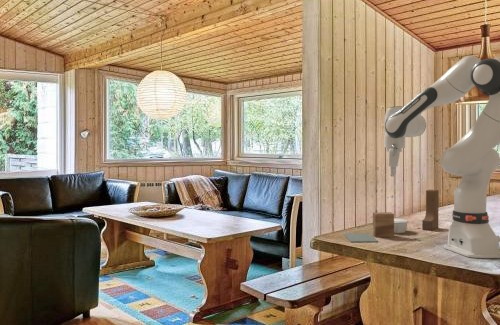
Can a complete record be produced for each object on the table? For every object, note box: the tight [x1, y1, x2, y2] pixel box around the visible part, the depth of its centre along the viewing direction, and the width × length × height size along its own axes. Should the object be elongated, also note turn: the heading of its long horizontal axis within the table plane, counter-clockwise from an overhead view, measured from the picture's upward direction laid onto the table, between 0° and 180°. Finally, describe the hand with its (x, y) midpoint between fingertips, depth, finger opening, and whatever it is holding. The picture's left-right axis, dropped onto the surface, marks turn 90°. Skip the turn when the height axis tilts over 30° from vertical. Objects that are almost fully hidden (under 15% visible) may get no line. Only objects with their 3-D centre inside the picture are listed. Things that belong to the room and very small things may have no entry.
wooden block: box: [421, 189, 440, 231], centre depth 210 cm, size 9×4×18 cm, turn 139°
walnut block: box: [372, 211, 395, 238], centre depth 196 cm, size 4×8×10 cm, turn 89°
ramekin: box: [394, 217, 409, 234], centre depth 206 cm, size 11×11×5 cm
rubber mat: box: [343, 232, 379, 243], centre depth 192 cm, size 16×11×1 cm
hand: (393, 175), depth 198 cm, fingers open, 8 cm apart
